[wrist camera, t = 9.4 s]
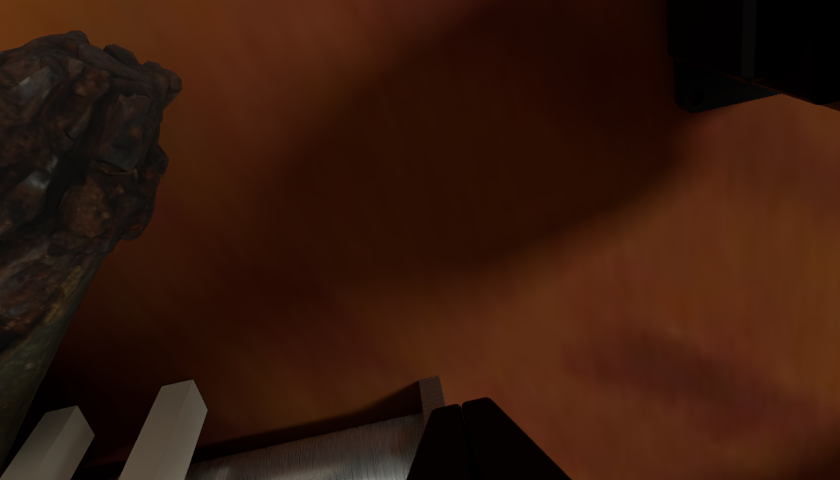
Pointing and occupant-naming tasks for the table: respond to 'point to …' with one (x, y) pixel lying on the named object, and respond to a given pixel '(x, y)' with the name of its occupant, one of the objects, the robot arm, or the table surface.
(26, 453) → the grey staple-shaped bracket
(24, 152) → the dark piece
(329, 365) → the table surface
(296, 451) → the air tube
